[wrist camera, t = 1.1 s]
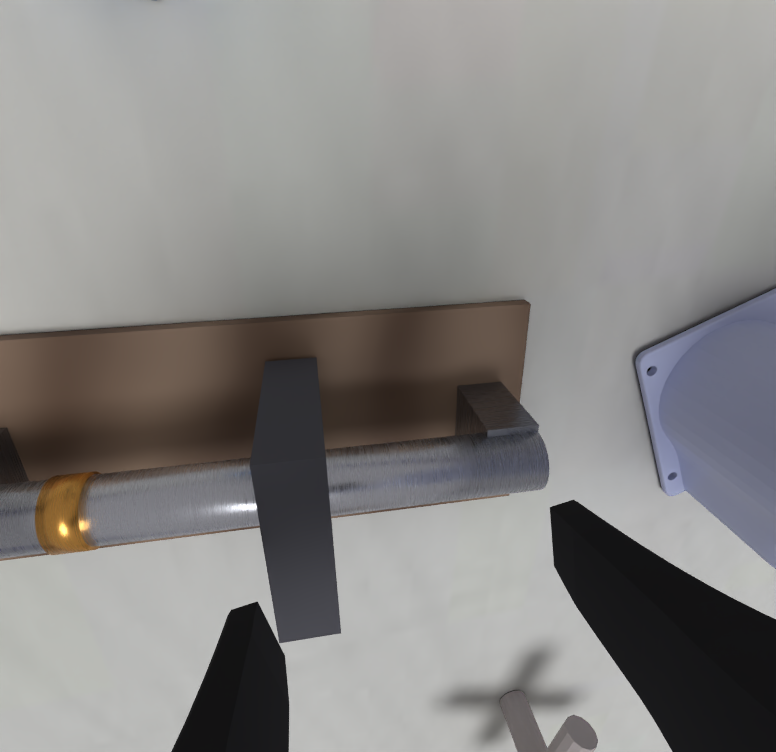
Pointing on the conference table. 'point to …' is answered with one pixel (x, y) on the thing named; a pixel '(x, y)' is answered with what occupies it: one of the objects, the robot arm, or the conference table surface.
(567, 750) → the pipe connector
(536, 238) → the conference table surface
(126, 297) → the conference table surface
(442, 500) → the steel pipe
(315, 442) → the rubber collar
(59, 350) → the walnut board
